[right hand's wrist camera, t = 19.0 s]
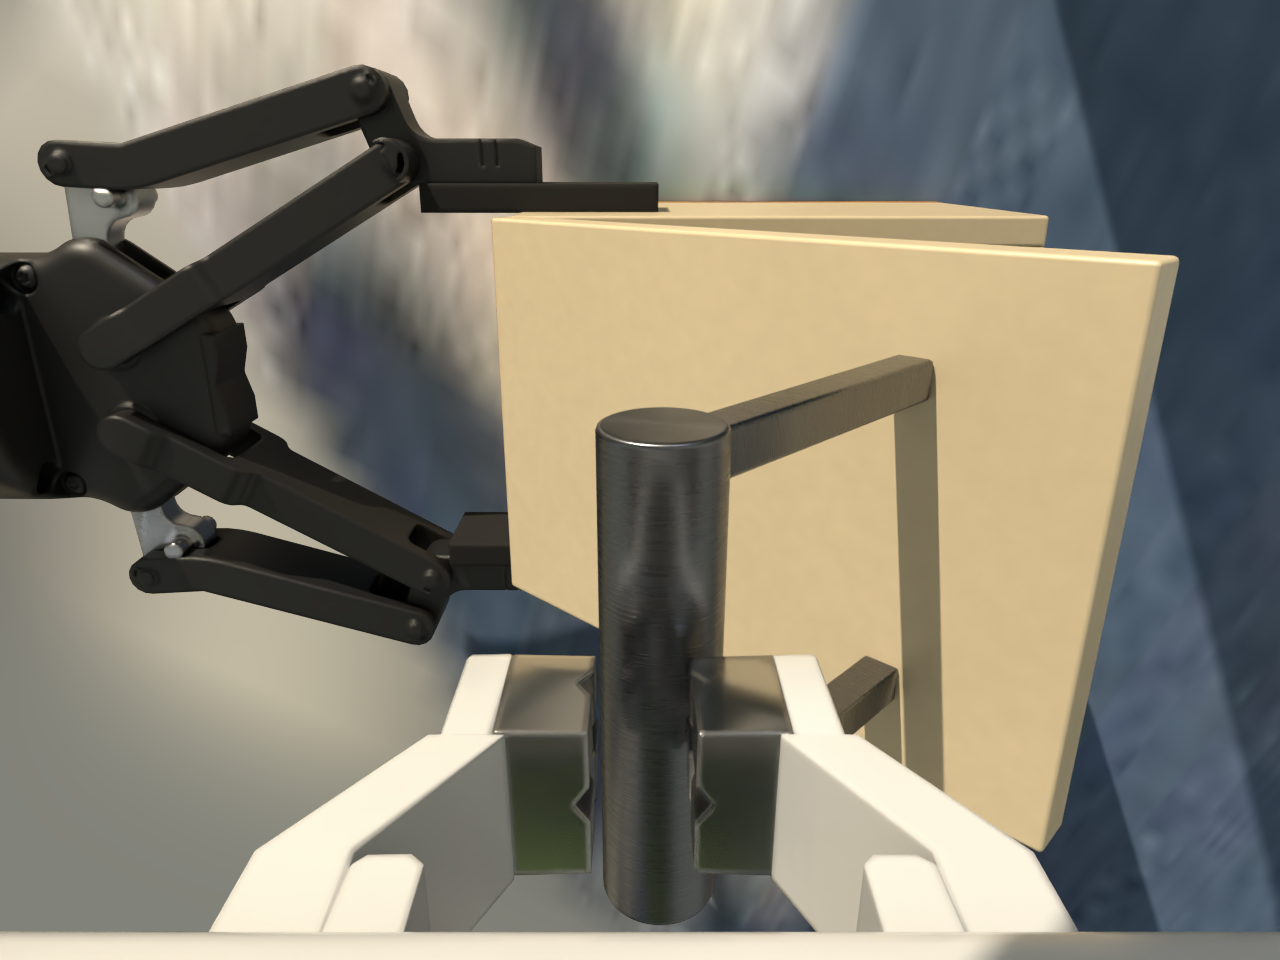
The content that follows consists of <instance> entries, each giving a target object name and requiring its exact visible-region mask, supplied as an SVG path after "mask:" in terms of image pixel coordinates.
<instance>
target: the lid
mask: <svg viewBox="0 0 1280 960" xmlns="http://www.w3.org/2000/svg"><path fill="white" fill-rule="evenodd" d="M492 239H493V256H494V274H495V291H496V309H497V327H498V344H499V362H500V379H501V397H502V415H503V432H504V450H505V468H506V485H507V503H508V520H509V538H510V556H511V573H512V584H513V586H515V587H517V588H519V589H521V590H523V591H525V592H527V593H529V594H531V595H533V596H535V597H537V598H539V599H541V600H543V601H545V602H547V603H549V604H551V605H553V606H555V607H556V608H558V609H560V610H562V611H564V612H566V613H568V614H570V615H572V616H574V617H576V618H578V619H580V620H582V621H584V622H586V623H588V624H590V625H592V626H594V627H596V628H598V629H599V663H600V716H601V770H602V824H603V878H604V887H605V891H606V893H607V895H608V897H609V899H610V900H611V902H612V903H613V905H614V906H615V907H616V908H617V909H618V910H619V911H620V912H622V913H623V914H624V915H626V916H628V917H629V918H631V919H633V920H636V921H639V922H642V923H646V924H652V925H668V924H674V923H678V922H681V921H684V920H686V919H689V918H691V917H692V916H694V915H695V914H697V913H698V912H699V911H700V910H701V909H702V908H703V907H704V906H705V905H706V903H707V902H708V901H709V899H710V897H711V895H712V893H713V889H714V883H715V874H710V873H694V862H693V851H692V839H691V802H690V801H689V800H688V786H687V768H686V745H687V719H688V718H689V704H688V691H687V681H688V660H689V658H690V657H721V656H761V655H792V654H813V655H814V656H816V657H817V659H818V662H819V665H820V668H821V670H822V673H823V676H824V678H825V681H826V684H827V687H828V689H829V692H830V695H831V697H832V700H833V703H834V706H835V708H836V711H837V714H838V716H839V719H840V722H841V725H842V727H843V730H844V733H845V734H853V735H859V736H860V737H862V738H863V739H865V740H866V741H868V742H869V743H871V744H872V745H874V746H875V747H877V748H878V749H880V750H881V751H883V752H884V753H886V754H887V755H889V756H890V757H892V758H893V759H895V760H896V761H898V762H899V763H901V764H902V765H904V766H905V767H907V768H908V769H910V770H911V771H913V772H914V773H916V774H917V775H919V776H920V777H922V778H923V779H925V780H926V781H928V782H929V783H931V784H932V785H934V786H935V787H937V788H938V789H940V790H941V791H943V792H944V793H946V794H947V795H949V796H950V797H952V798H953V799H955V800H956V801H958V802H959V803H961V804H962V805H964V806H965V807H967V808H968V809H970V810H971V811H973V812H974V813H976V814H977V815H979V816H980V817H982V818H983V819H985V820H986V821H988V822H989V823H991V824H992V825H994V826H995V827H997V828H998V829H1000V830H1001V831H1003V832H1004V833H1006V834H1007V835H1009V836H1010V837H1012V838H1013V839H1014V840H1016V841H1018V842H1020V843H1022V844H1024V845H1026V846H1028V847H1030V848H1032V849H1034V850H1036V851H1038V852H1042V851H1043V850H1044V849H1045V847H1046V846H1047V845H1048V843H1049V842H1050V840H1051V839H1052V837H1053V836H1054V834H1055V833H1056V832H1057V830H1058V829H1059V827H1060V826H1061V824H1062V819H1063V815H1064V810H1065V805H1066V800H1067V796H1068V791H1069V786H1070V781H1071V776H1072V772H1073V767H1074V762H1075V757H1076V753H1077V748H1078V743H1079V738H1080V734H1081V729H1082V724H1083V719H1084V714H1085V710H1086V705H1087V700H1088V695H1089V691H1090V686H1091V681H1092V676H1093V672H1094V667H1095V662H1096V657H1097V652H1098V648H1099V643H1100V638H1101V633H1102V629H1103V624H1104V619H1105V614H1106V610H1107V605H1108V600H1109V595H1110V590H1111V586H1112V581H1113V576H1114V571H1115V567H1116V562H1117V557H1118V552H1119V547H1120V543H1121V538H1122V533H1123V528H1124V524H1125V519H1126V514H1127V509H1128V505H1129V500H1130V495H1131V490H1132V485H1133V481H1134V476H1135V471H1136V466H1137V462H1138V457H1139V452H1140V447H1141V443H1142V438H1143V433H1144V428H1145V423H1146V419H1147V414H1148V409H1149V404H1150V400H1151V395H1152V390H1153V385H1154V381H1155V376H1156V371H1157V366H1158V361H1159V357H1160V352H1161V347H1162V342H1163V338H1164V333H1165V328H1166V323H1167V319H1168V314H1169V309H1170V304H1171V299H1172V295H1173V290H1174V285H1175V280H1176V276H1177V271H1178V266H1179V259H1178V258H1177V257H1175V256H1169V255H1153V254H1136V253H1120V252H1103V251H1086V250H1070V249H1053V248H1037V247H1020V246H1003V245H987V244H970V243H954V242H937V241H920V240H904V239H887V238H871V237H854V236H837V235H821V234H804V233H788V232H771V231H754V230H738V229H721V228H705V227H688V226H671V225H655V224H638V223H622V222H605V221H588V220H572V219H555V218H539V217H522V216H521V217H501V218H494V219H492Z"/></svg>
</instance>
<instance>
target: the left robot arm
mask: <svg viewBox="0 0 1280 960" xmlns="http://www.w3.org/2000/svg"><path fill="white" fill-rule="evenodd" d="M408 101H409V96H408V90H407V88H406V87H405V85H404V83H403V82H402V81H401V80H400V79H399V78H398V77H396V76H394V75H391V74H389V73H386V72H383V71H381V70H378V69H375V68H372V67H368V66H365V65H354V66H351V67H348V68H345V69H342V70H339V71H336V72H333V73H330V74H327V75H324V76H321V77H318V78H315V79H312V80H309V81H306V82H303V83H300V84H297V85H294V86H291V87H288V88H285V89H282V90H279V91H276V92H273V93H270V94H267V95H264V96H261V97H258V98H255V99H252V100H249V101H246V102H243V103H240V104H237V105H234V106H231V107H228V108H225V109H222V110H219V111H216V112H213V113H210V114H207V115H204V116H201V117H198V118H195V119H192V120H189V121H186V122H183V123H180V124H177V125H174V126H171V127H168V128H166V129H163V130H160V131H157V132H154V133H151V134H148V135H145V136H142V137H139V138H136V139H133V140H130V141H127V142H124V143H112V142H92V141H70V140H52V141H47V142H46V143H45V144H43V145H42V146H41V148H40V150H39V152H38V165H39V167H40V170H41V172H42V173H43V175H44V176H45V177H46V178H47V179H48V180H49V181H51V182H52V183H53V184H55V185H59V186H62V187H65V193H66V199H67V205H68V212H69V218H70V225H71V231H72V237H73V239H72V240H69V241H67V242H65V243H64V244H62V245H61V246H60V247H58V248H57V249H55V250H53V251H51V252H49V253H0V499H58V498H75V497H91V498H96V499H100V500H103V501H106V502H108V503H111V504H113V505H115V506H117V507H119V508H121V509H124V510H127V511H131V513H132V517H133V520H134V524H135V527H136V531H137V534H138V538H139V541H140V545H141V548H142V552H143V557H142V558H141V559H139V560H138V561H137V562H135V563H134V564H133V565H132V566H131V568H130V571H129V576H130V580H131V581H132V583H133V585H134V586H135V587H136V588H137V589H139V590H141V591H143V592H145V593H152V594H154V593H174V592H193V591H206V592H210V593H213V594H217V595H221V596H225V597H229V598H233V599H237V600H241V601H245V602H249V603H253V604H256V605H260V606H264V607H268V608H272V609H276V610H280V611H284V612H288V613H292V614H296V615H300V616H303V617H307V618H311V619H315V620H319V621H323V622H327V623H331V624H335V625H338V626H342V627H346V628H350V629H354V630H358V631H362V632H366V633H370V634H374V635H378V636H381V637H385V638H389V639H393V640H397V641H401V642H405V643H409V644H414V645H421V644H424V643H427V642H428V641H429V640H430V639H431V638H432V636H433V634H434V632H435V630H436V628H437V626H438V623H439V621H440V619H441V617H442V615H443V612H444V610H445V608H446V605H447V603H448V601H449V596H450V595H451V594H453V593H454V592H457V591H460V590H506V589H508V590H518V589H519V588H517V587H515V586H513V584H512V573H511V556H510V538H509V520H508V512H465V514H464V516H463V517H462V519H461V521H460V523H459V525H458V527H457V529H456V531H455V533H454V534H453V533H451V532H449V531H447V530H445V529H443V528H441V527H439V526H437V525H435V524H433V523H431V522H429V521H427V520H426V519H424V518H422V517H420V516H418V515H416V514H414V513H412V512H410V511H408V510H406V509H404V508H402V507H400V506H398V505H396V504H395V503H393V502H391V501H389V500H387V499H385V498H383V497H381V496H379V495H377V494H375V493H373V492H371V491H369V490H367V489H365V488H363V487H362V486H360V485H358V484H356V483H354V482H352V481H350V480H348V479H346V478H344V477H342V476H340V475H338V474H336V473H334V472H332V471H331V470H329V469H327V468H325V467H323V466H321V465H319V464H317V463H315V462H313V461H311V460H309V459H307V458H305V457H303V456H301V455H299V454H298V453H296V452H294V451H292V450H291V449H290V448H289V447H288V445H287V442H286V441H285V440H284V439H282V438H281V437H279V436H277V435H275V434H273V433H271V432H270V431H268V430H266V429H264V428H262V427H260V426H258V425H256V424H254V423H252V421H254V420H255V419H257V418H258V413H257V407H256V400H255V395H254V392H253V390H252V388H251V385H250V383H249V381H248V378H247V376H246V374H245V361H246V352H247V343H246V336H245V330H244V323H236V322H235V319H234V318H233V316H232V314H231V313H230V311H229V310H231V309H233V308H234V307H236V306H237V305H239V304H240V303H242V302H243V301H245V300H246V299H248V298H250V297H251V296H253V295H254V294H256V293H257V292H259V291H260V290H262V289H263V288H264V287H265V285H267V284H268V283H270V282H271V281H273V280H274V279H276V278H277V277H279V276H280V275H282V274H284V273H285V272H287V271H288V270H290V269H291V268H293V267H294V266H296V265H297V264H299V263H301V262H302V261H304V260H305V259H307V258H308V257H310V256H311V255H313V254H315V253H316V252H318V251H319V250H321V249H322V248H324V247H325V246H327V245H329V244H330V243H332V242H333V241H335V240H336V239H338V238H339V237H341V236H343V235H344V234H346V233H347V232H349V231H350V230H352V229H353V228H355V227H356V226H358V225H360V224H361V223H363V222H364V221H366V220H367V219H369V218H370V217H372V216H374V215H375V214H377V213H378V212H380V211H381V210H383V209H384V208H386V207H388V206H389V205H391V204H392V203H394V202H395V201H397V200H398V199H400V198H402V197H403V196H405V195H406V194H408V193H409V192H411V191H412V190H414V189H415V188H417V187H419V190H420V203H421V213H522V212H658V183H657V182H543V180H542V152H541V147H539V146H536V145H534V144H532V143H529V142H527V141H524V140H521V139H435V138H433V137H430V136H429V135H428V134H426V133H425V132H424V131H423V130H422V129H421V128H420V126H419V125H418V123H417V121H416V119H415V116H414V114H413V111H412V109H411V107H410V104H409V102H408ZM361 129H362V131H363V134H364V136H365V138H366V141H367V143H368V145H369V147H370V149H368V150H367V151H365V152H364V153H362V154H361V155H359V156H358V157H356V158H355V159H353V160H352V161H350V162H349V163H347V164H346V165H344V166H343V167H341V168H339V169H338V170H336V171H335V172H333V173H332V174H330V175H329V176H327V177H326V178H324V179H323V180H321V181H320V182H318V183H317V184H315V185H314V186H312V187H311V188H309V189H308V190H306V191H305V192H303V193H302V194H300V195H299V196H297V197H296V198H294V199H293V200H291V201H290V202H288V203H287V204H285V205H284V206H282V207H281V208H279V209H278V210H276V211H274V212H273V213H271V214H270V215H268V216H267V217H265V218H264V219H262V220H261V221H259V222H258V223H256V224H255V225H253V226H252V227H250V228H249V229H247V230H246V231H244V232H243V233H241V234H240V235H238V236H237V237H235V238H234V239H232V240H231V241H229V242H228V243H226V244H225V245H223V246H222V247H220V248H219V249H217V250H216V251H214V252H213V253H211V254H210V255H208V256H206V257H205V258H203V259H201V260H199V261H197V262H195V263H192V264H190V265H188V266H186V267H184V268H183V269H181V270H179V271H178V272H176V271H175V270H173V269H172V268H170V267H169V266H167V265H166V264H164V263H163V262H161V261H159V260H158V259H156V258H155V257H153V256H152V255H150V254H149V253H147V252H146V251H144V250H143V249H141V248H140V247H138V246H137V245H135V244H134V243H132V242H130V241H128V240H126V239H125V238H124V231H125V228H126V225H127V224H128V222H129V221H130V220H132V219H133V218H136V217H140V216H144V215H147V214H148V213H150V212H151V211H152V209H153V208H154V205H155V202H156V201H157V199H158V194H157V191H156V189H155V188H172V187H181V186H186V185H190V184H194V183H198V182H201V181H204V180H207V179H211V178H214V177H217V176H220V175H223V174H226V173H229V172H232V171H235V170H238V169H241V168H244V167H247V166H250V165H253V164H257V163H260V162H263V161H266V160H269V159H272V158H275V157H278V156H281V155H284V154H287V153H290V152H293V151H296V150H299V149H302V148H306V147H309V146H312V145H315V144H318V143H321V142H324V141H327V140H330V139H333V138H336V137H339V136H342V135H345V134H348V133H351V132H355V131H358V130H361ZM228 455H231V456H233V457H234V458H231V457H227V456H228ZM188 486H189V487H191V488H193V489H195V490H197V491H199V492H201V493H203V494H205V495H207V496H209V497H211V498H213V499H215V500H217V501H219V502H221V503H224V504H228V505H245V506H248V507H250V508H252V509H254V510H256V511H258V512H260V513H262V514H264V515H266V516H268V517H270V518H272V519H274V520H276V521H278V522H280V523H282V524H284V525H286V526H288V527H290V528H292V529H294V530H296V531H298V532H300V533H302V534H304V535H306V536H308V537H310V538H312V539H314V540H316V541H318V542H320V543H322V544H324V545H326V546H328V547H330V548H332V549H334V550H336V551H338V552H340V553H342V554H344V555H346V556H348V557H346V556H342V555H339V554H335V553H331V552H327V551H324V550H320V549H316V548H312V547H308V546H305V545H301V544H297V543H293V542H289V541H286V540H282V539H278V538H274V537H270V536H266V535H263V534H259V533H255V532H250V531H245V530H240V529H230V528H216V521H215V520H214V519H213V518H212V517H210V516H203V517H201V516H196V515H191V514H189V513H186V512H185V511H183V510H182V509H181V508H180V507H179V506H178V504H177V502H176V500H175V497H174V496H176V495H178V494H179V493H180V492H182V491H183V490H184V489H185V488H187V487H188ZM520 590H521V589H520Z"/></svg>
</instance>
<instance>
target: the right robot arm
mask: <svg viewBox="0 0 1280 960" xmlns="http://www.w3.org/2000/svg"><path fill="white" fill-rule="evenodd" d="M687 691H688V704H689V718H688V719H687V745H686V768H687V786H688V800H689V801H690V802H691V839H692V851H693V862H694V873H710V874H746V875H771V879H772V880H773V881H774V883H775V884H776V885H777V886H778V887H779V888H780V890H781V891H782V892H783V893H784V894H785V896H786V897H787V898H788V899H789V900H790V901H791V903H792V904H793V905H794V906H795V907H796V909H797V910H798V911H799V912H800V913H801V914H802V916H803V917H804V918H805V919H806V920H807V922H808V923H809V924H810V925H811V926H812V927H813V929H814V930H815V931H816V932H470V931H471V930H472V929H473V927H474V926H475V925H476V924H477V923H478V922H479V920H480V919H481V918H482V917H483V916H484V914H485V913H486V912H487V911H488V910H489V909H490V907H491V906H492V905H493V904H494V903H495V901H496V900H497V899H498V898H499V897H500V895H501V894H502V893H503V892H504V891H505V890H506V888H507V887H508V886H509V885H510V884H511V882H512V881H513V880H514V875H538V874H573V873H591V865H592V852H593V839H594V802H595V801H596V796H597V775H598V720H597V718H596V717H595V714H596V700H597V669H596V656H557V655H514V656H512V655H511V654H482V655H472V656H470V657H469V658H468V659H467V661H466V664H465V666H464V669H463V672H462V675H461V678H460V680H459V683H458V686H457V689H456V692H455V695H454V697H453V700H452V703H451V706H450V709H449V712H448V714H447V717H446V720H445V723H444V726H443V729H442V731H441V734H433V735H427V736H425V737H424V738H422V739H421V740H420V741H418V742H416V743H415V744H414V745H412V746H410V747H409V748H408V749H406V750H405V751H403V752H402V753H400V754H399V755H397V756H396V757H394V758H393V759H391V760H390V761H388V762H387V763H385V764H384V765H382V766H381V767H379V768H378V769H376V770H375V771H373V772H372V773H370V774H369V775H367V776H366V777H364V778H363V779H361V780H360V781H358V782H357V783H355V784H354V785H352V786H351V787H349V788H348V789H346V790H345V791H343V792H342V793H340V794H339V795H337V796H336V797H334V798H333V799H331V800H330V801H329V802H327V803H325V804H324V805H322V806H321V807H319V808H318V809H316V810H315V811H314V812H312V813H311V814H309V815H307V816H306V817H305V818H303V819H302V820H300V821H299V822H297V823H296V824H294V825H293V826H291V827H290V828H288V829H287V830H285V831H284V832H282V833H281V834H279V835H278V836H276V837H275V838H273V839H272V840H270V841H269V842H267V843H266V844H264V845H263V846H261V847H260V848H258V849H257V850H255V851H254V853H253V855H252V857H251V858H250V860H249V862H248V864H247V866H246V867H245V869H244V871H243V873H242V874H241V876H240V878H239V880H238V881H237V883H236V885H235V887H234V888H233V890H232V892H231V894H230V895H229V897H228V899H227V901H226V902H225V904H224V906H223V908H222V910H221V911H220V913H219V915H218V917H217V918H216V920H215V922H214V924H213V925H212V927H211V929H210V931H209V932H0V960H1280V932H1079V931H1078V929H1077V928H1076V926H1075V924H1074V922H1073V921H1072V919H1071V917H1070V915H1069V914H1068V912H1067V910H1066V908H1065V907H1064V905H1063V903H1062V901H1061V900H1060V898H1059V896H1058V894H1057V893H1056V891H1055V889H1054V887H1053V886H1052V884H1051V882H1050V880H1049V879H1048V877H1047V875H1046V873H1045V872H1044V870H1043V868H1042V866H1041V865H1040V863H1039V861H1038V859H1037V858H1036V856H1035V854H1034V852H1032V851H1031V850H1029V849H1028V848H1026V847H1025V846H1023V845H1022V844H1020V843H1019V842H1017V841H1016V840H1014V839H1013V838H1012V837H1010V836H1009V835H1007V834H1006V833H1004V832H1003V831H1001V830H1000V829H998V828H997V827H995V826H994V825H992V824H991V823H989V822H988V821H986V820H985V819H983V818H982V817H980V816H979V815H977V814H976V813H974V812H973V811H971V810H970V809H968V808H967V807H965V806H964V805H962V804H961V803H959V802H958V801H956V800H955V799H953V798H952V797H950V796H949V795H947V794H946V793H944V792H943V791H941V790H940V789H938V788H937V787H935V786H934V785H932V784H931V783H929V782H928V781H926V780H925V779H923V778H922V777H920V776H919V775H917V774H916V773H914V772H913V771H911V770H910V769H908V768H907V767H905V766H904V765H902V764H901V763H899V762H898V761H896V760H895V759H893V758H892V757H890V756H889V755H887V754H886V753H884V752H883V751H881V750H880V749H878V748H877V747H875V746H874V745H872V744H871V743H869V742H868V741H866V740H865V739H863V738H862V737H860V736H859V735H853V734H845V733H844V730H843V727H842V725H841V722H840V719H839V716H838V714H837V711H836V708H835V706H834V703H833V700H832V697H831V695H830V692H829V689H828V687H827V684H826V681H825V678H824V676H823V673H822V670H821V668H820V665H819V662H818V659H817V657H816V656H814V655H813V654H792V655H761V656H721V657H690V658H689V660H688V681H687Z"/></svg>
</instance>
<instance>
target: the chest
mask: <svg viewBox="0 0 1280 960" xmlns="http://www.w3.org/2000/svg"><path fill="white" fill-rule="evenodd" d="M521 216H522V217H539V218H555V219H572V220H588V221H605V222H622V223H638V224H655V225H671V226H688V227H705V228H721V229H738V230H754V231H771V232H788V233H804V234H821V235H837V236H854V237H871V238H887V239H904V240H920V241H937V242H954V243H970V244H987V245H1003V246H1020V247H1037V248H1044V247H1041V246H1044V244H1045V240H1046V233H1047V227H1048V221H1049V218H1048V217H1047V216H1043V215H1035V214H1027V213H1019V212H1011V211H1003V210H995V209H987V208H979V207H971V206H963V205H955V204H946V203H941V202H935V201H658V212H522V213H519V214H516V215H514V216H511V217H521Z"/></svg>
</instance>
